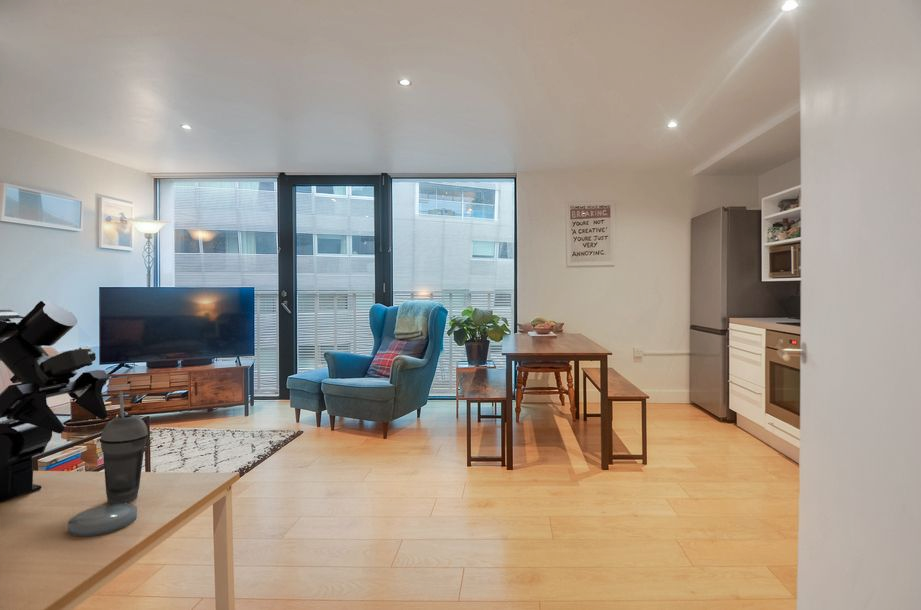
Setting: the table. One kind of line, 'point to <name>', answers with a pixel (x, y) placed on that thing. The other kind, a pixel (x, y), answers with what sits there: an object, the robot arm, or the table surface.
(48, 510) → the table surface
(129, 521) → the slate dish
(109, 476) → the beverage cup
